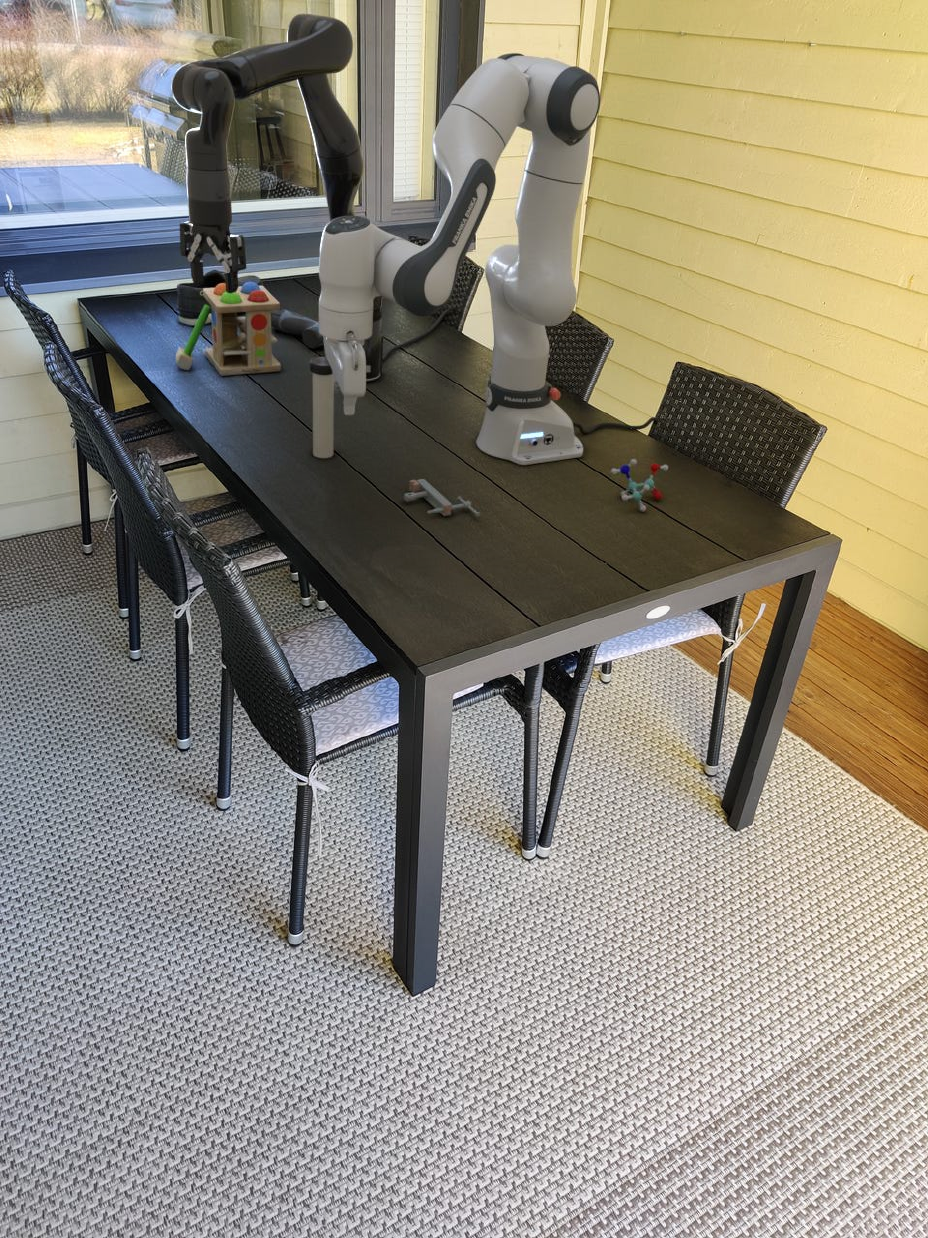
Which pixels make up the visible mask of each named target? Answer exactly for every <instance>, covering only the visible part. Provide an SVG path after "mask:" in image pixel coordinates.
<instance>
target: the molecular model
mask: <svg viewBox="0 0 928 1238" xmlns="http://www.w3.org/2000/svg"><path fill="white" fill-rule="evenodd" d="M637 463H638V461H637V459H636V458H631V460H630V461H629V464H627V465H626V464H624V465H622V466H621V467H620V468H618V469H617V468H615V467H612V468H611V469H610V474H611V475H613V476H615V475H617V473H621V474H623V475H625V477H626V478H627V481H628V485H627V489H626V490H622V491H621V492H620V496H621V501H623V502H627V501H628V500H631V499H633V500H634V501H636V502H637V504H638V505H639V511H640V512H642V513H644V512H645V511H646V510H647V506H646V505H644V504H643V501H642V498H643V493H645V492H649V491H650V492H651V493H652V496H653V499H654V500H657V501H659V500H661V499H662V496H663V494H662V492H660V491H658V489H657V488H656V486H655V481H654V476H655V473H656V472H657V471H659V470H662V471H663V472H667V471H668V470H669V465H667V464H663V465H659V464H658V463H656V462H655V463H652V464H651V465H650V470H651V472H650V475H649V478H647V479H646V480H645V481H644V482H640V483H638V482H636V481H633V480H632V477H631V475H630V471H631V470H630V468H632V466H636V465H637ZM638 488H642V489H641V490H640V491H639V490H638ZM630 492H632V494H631V495H630V494H629V493H630ZM628 494H629V495H628Z"/></svg>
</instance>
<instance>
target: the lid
mask: <svg viewBox="0 0 928 1238" xmlns="http://www.w3.org/2000/svg"><path fill="white" fill-rule="evenodd" d="M309 370H310V372H311V373H312V372H313V373H315V374H318V375H331V374H333V373H332V369H331V366H330V364H329V362H328V360H327V358H326V356H317V357H316V356H315V357H312V358H311V359H310V362H309Z"/></svg>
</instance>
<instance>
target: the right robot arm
mask: <svg viewBox="0 0 928 1238" xmlns="http://www.w3.org/2000/svg"><path fill="white" fill-rule="evenodd" d="M599 88H600V87H599V84H598V81H597V79H596V78H595V77H594V76H593V75H592V74H591V73H590V72H588V71H586V69H583V68H581V67H579V66H575V65H573V66H572V65H570V64H567V63H565V62H563V61H560V60H557V59H553V58H551V57H550V58H549V57H540V56H531V55H524V54H522V53H518V52H512V53H511V52H510V53H505V54H502V55H501V54H500V55H499V56H497V57H494V58H493V57H492V58H489V59H487V60H485V61H483V62H482V63H481V64H480V65H479V66H478V67H477V68H476V69H475V70H474V72H472V74H471V75H470V76H469V78H467V80H466V81H465V83H463V85H462V86H461V87H460V89H459V90H458V92H457V93H456V95H454V97H453V99H452V101H451V102H450V103H449V106H448V107H447V108H446V110H445V112H443V115H442V117H441V118H440V120H439V121H438V123H437V126H436V128H435V130H434V133H433V136H432V140H431V147H432V153H433V158H434V161H435V163H436V165H437V167H438V169H439V170H440V172H441V173H442V174H443V175H444V177H445V178H446V179H447V181H448V182H449V184H450V188H451V193H450V198H449V201H448V203H447V206H446V208H445V209H444V212H443V214H442V216H441V218H440V220H439V222H438V225H437V227H436V229H435V231H434V233H433V235H432V237H431V239H430V240H429V241H428V242H427V243H425V244H424V245H418V244H416V243H414V242H411V241H410V240H407V239H405V238H403V237H400V236H398V235H395V234H393V233H389V232H386V231H385V230H382V229H381V228H379V227H378V226H376V225H375V224H373V223H372V221H371V220H370V219H369V218H367V217H365V216H361V215H355V216H342V217H338V218H335V219H333V220H331V221H330V220H329V221H328V222H327V223H326V224H325V226H324V228H323V231H322V234H321V239H320V244H319V245H320V246H319V255H318V256H319V257H318V258H319V259H318V278H319V281H320V287H321V288H320V295H319V298H318V322H319V333H320V334H321V335H322V336H323V339H324V345H323V349H324V355H325V357H326V358H327V360H328V362H329V364H330V366H331V369H332V373H333V380H334V393H335V394H337V395H339V394H342V395H343V401H342V411H343V413H344V415H345V416H353V415H354V414H355V413H356V412H355V411H356V403H357V400H358V398H364V397H365V395H366V391H367V383H366V357H365V352H364V349H363V347H362V346H363V345H364V340H365V339H368V338H370V337H371V336H372V327H373V300H374V298H375V297H377V296H383V298H385V299H387V300H389V301H391V302H393V303H395V304H398V305H399V306H400V307H401V308H402V309H405V310H406V311H408V312H410V313H411V314H413V315H415V316H417V317H428V316H431V315H434V314H435V313H437V312H439V311H440V310H441V309H443V307H445V305H447V304H448V302H449V301H450V299H451V297H452V295H453V293H454V289H455V286H456V284H457V279H458V276H459V273H460V270H461V267H462V264H463V262H464V260H465V257H466V256H467V253H468V251H469V249H470V247H471V245H472V242H473V241H474V238H475V236H476V234H477V232H478V230H479V227H480V225H481V223H482V222H483V219H484V216H485V215H486V212H487V210H488V208H489V205H490V203H491V202H492V201H491V200H492V198H493V195H494V192H495V188H496V183H497V181H496V180H497V175H496V173H495V171H496V168H497V164H498V162H499V160H500V157H501V156H502V154H503V152H504V150H505V149H506V148H507V146H508V144H509V142H510V140H511V139H512V137H513V135H514V133H515V131H516V129H517V128H521V129H522V130H526V131H528V132H531V135H532V136H531V137H532V139H531V143H530V146H529V149H528V152H527V155H526V160H525V164H524V168H523V172H522V176H521V177H522V178H521V182H520V186H519V187H520V188H519V192H518V197H517V200H516V206H515V211H514V219H515V223H516V228H517V239H518V244H503V245H501V246H499V247H497V248H496V249H494V251H492V253H491V254H490V255H489V257H488V259H487V261H486V263H485V269H484V274H485V275H484V276H485V279H486V282H487V285H488V289H489V294H490V306H491V308H490V309H491V317H492V318H491V319H492V329H493V348H492V349H493V350H492V360H491V370H490V371H491V372H490V376H489V377H488V381H487V387H486V391H485V406H486V409H485V413H484V418H483V421H482V425H481V428H480V431H479V434H478V436H477V438H476V441H475V444H476V446H477V447H478V448H479V450H480V451H482V452H483V453H485V454H487V455H489V456H492V457H494V458H499V459H503V460H507V461H510V462H513V463H515V464H517V465H519V466H520V465H521V466H528V465H536V464H542V463H548V462H555V461H562V460H563V461H564V460H569V459H576V458H582V456H583V455H584V446H583V444H582V442H581V440H580V439H579V438H578V437H577V436H576V435H575V429H576V428H578V430H579V432H580V433H581V434H583V435H589V434H591V433H593V432H595V431H597V430H598V429H600V428H605V427H606V428H607V427H609V428H618V429H624V430H632V431H633V430H634V431H638V430H639V431H640V430H644V429H645V428H648V426H650V425H651V424H652V423H653V422H654V423H656V424H658V423H659V420H658V419H657V417H655V416H652V417H650V418H649V419H648V420H647V421H646V422H645V423H643V424H641V425H630V424H629V425H628V424H622V423H617V422H600V423H598V424H595V425H594V426H592V427H591V428H589V429H584V427H583V425H582V424H581V423H579V422H575V421H573V420H572V419H571V417H570V416H569V414H568V413H567V412H566V411H565V410H564V409H562V408H561V407H560V406H559V405H558V404H557V403H555V402H554V401H558V400H559V399H560V398H561V397H562V396H561V394H562V393H561V391H559V389H558V388H556V387H554V386H553V385H552V384H551V383H549V382H548V381H547V379H546V378H547V371H548V363H549V358H550V357H549V356H550V341H549V337H548V335H547V330H546V327H554V326H557V325H560V324H562V323H564V322H565V321H566V320H568V318H569V317H570V316H571V314H572V313H573V311H574V309H575V307H576V304H577V296H578V295H577V294H578V293H577V289H576V286H575V282H574V277H573V235H574V227H575V221H576V216H577V212H578V208H579V204H580V200H581V194H582V190H583V186H584V182H585V178H586V174H587V169H588V163H589V154H590V145H591V129H592V127H593V125H594V124H595V122H596V120H597V117H598V115H599V111H600V106H601V94H600V89H599ZM655 419H657V420H655ZM631 428H632V429H631Z"/></svg>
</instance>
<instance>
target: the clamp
mask: <svg viewBox="0 0 928 1238" xmlns="http://www.w3.org/2000/svg"><path fill="white" fill-rule="evenodd" d="M408 482H409V484H408V491H409V492H406V493H404V494H403V499H404V501H406V502H413V501H416V500H417V499H422V498H423V499H425V500H426V501H427V502H428V503H429V504H430V505H431V506H432V507H433V509H430V510H427V511H426V513H427V514H428V515H429V514H439V513H440V514H441V515H442V517H447V516H452V511H454V510H459V509H463V510H466V509H469V510H470V511H471V512H472V513H473V514H475V517H476V518H480V516H481V512H479V511H477V510H475V509H474V508H473V507H472V502H471V501H470V500H466V501H465V500H464V499H463V497H462V496H457V498H456V500H457V502H460V503H458V504H452V503H451V501H449V500H448V499H447V498H446V497H445V496H444V495H443V494H441V493H440V491H438V490H437V489H436V488H435V487H434V486H433V485H431V484H430V483H429V481H427V480H426V479H425V478H419V479H417V480H416V479H412V480H409V481H408Z"/></svg>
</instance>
